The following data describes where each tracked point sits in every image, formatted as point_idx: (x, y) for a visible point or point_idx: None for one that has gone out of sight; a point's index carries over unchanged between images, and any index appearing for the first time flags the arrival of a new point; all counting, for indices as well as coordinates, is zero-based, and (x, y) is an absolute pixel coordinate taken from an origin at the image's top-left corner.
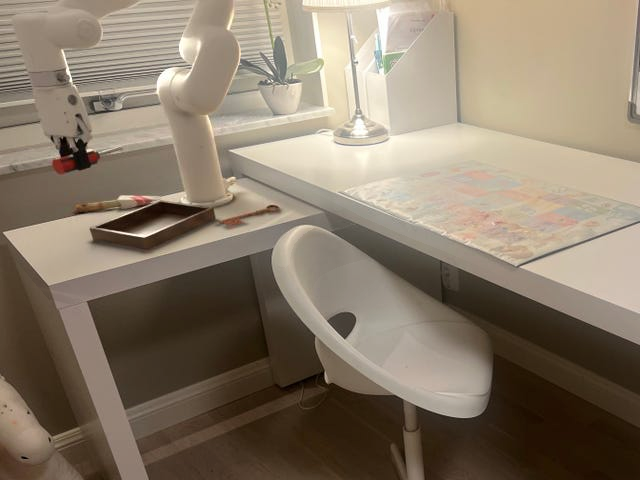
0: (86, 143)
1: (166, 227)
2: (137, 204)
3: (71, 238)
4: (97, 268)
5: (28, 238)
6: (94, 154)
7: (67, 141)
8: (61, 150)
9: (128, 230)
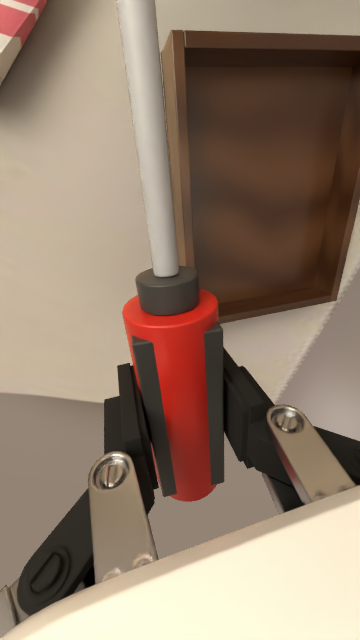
0: (354, 447)
1: (347, 240)
2: (21, 41)
3: (119, 329)
4: (283, 366)
5: (31, 377)
6: (217, 318)
7: (141, 502)
8: (153, 493)
9: (205, 242)
